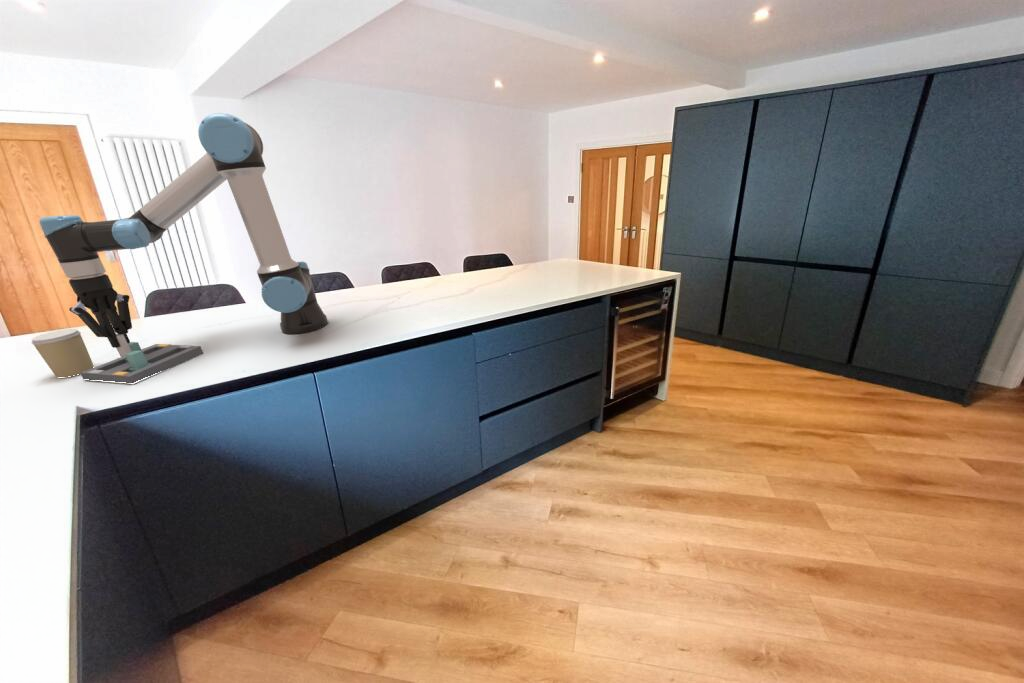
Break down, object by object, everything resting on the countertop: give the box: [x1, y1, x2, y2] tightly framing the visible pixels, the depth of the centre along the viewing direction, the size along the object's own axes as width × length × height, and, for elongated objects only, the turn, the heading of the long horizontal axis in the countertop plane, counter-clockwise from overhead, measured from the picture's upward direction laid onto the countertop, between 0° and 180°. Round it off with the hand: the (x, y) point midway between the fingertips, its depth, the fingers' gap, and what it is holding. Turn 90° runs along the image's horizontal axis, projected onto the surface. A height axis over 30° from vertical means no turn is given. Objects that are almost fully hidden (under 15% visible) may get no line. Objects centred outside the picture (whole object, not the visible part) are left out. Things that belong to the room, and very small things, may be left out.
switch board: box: [80, 343, 204, 383], centre depth 113 cm, size 18×20×3 cm
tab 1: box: [125, 341, 147, 363], centre depth 114 cm, size 3×4×5 cm
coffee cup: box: [31, 328, 95, 378], centre depth 111 cm, size 9×9×12 cm
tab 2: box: [125, 350, 152, 373], centre depth 108 cm, size 3×4×5 cm
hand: (126, 355), depth 113 cm, fingers closed
